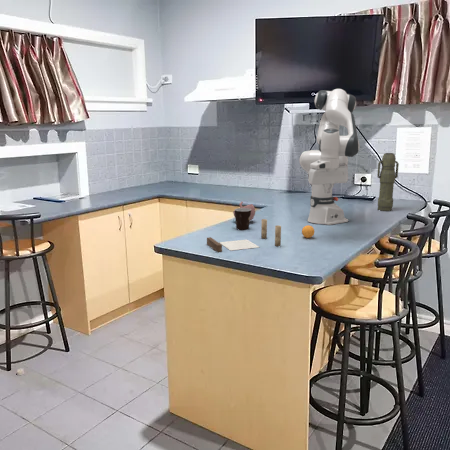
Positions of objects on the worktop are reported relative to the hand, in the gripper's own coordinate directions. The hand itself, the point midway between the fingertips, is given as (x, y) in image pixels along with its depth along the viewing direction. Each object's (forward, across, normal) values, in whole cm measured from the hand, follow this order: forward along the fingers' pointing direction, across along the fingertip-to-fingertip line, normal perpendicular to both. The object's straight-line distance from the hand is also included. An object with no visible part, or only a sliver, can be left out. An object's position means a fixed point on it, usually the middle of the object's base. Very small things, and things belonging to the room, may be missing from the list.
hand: (327, 193), depth 223 cm
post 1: (+21, +30, -7) cm, 37 cm away
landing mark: (+21, +46, 0) cm, 51 cm away
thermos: (+21, -70, -41) cm, 84 cm away
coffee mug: (+21, +33, -28) cm, 48 cm away
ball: (+18, +10, 0) cm, 21 cm away
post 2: (+21, +30, +7) cm, 37 cm away
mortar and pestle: (+21, +25, -42) cm, 53 cm away
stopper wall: (+21, +58, 0) cm, 62 cm away
